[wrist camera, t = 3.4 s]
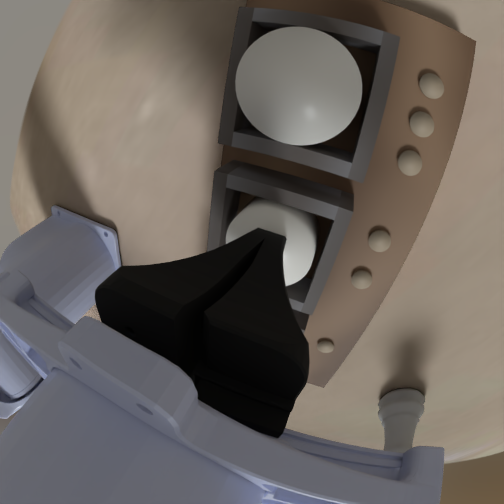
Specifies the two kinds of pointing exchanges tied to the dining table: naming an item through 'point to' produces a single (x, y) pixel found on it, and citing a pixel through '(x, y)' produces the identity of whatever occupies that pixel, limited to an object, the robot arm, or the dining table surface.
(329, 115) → the button
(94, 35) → the dining table surface
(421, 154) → the button panel
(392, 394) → the rook chess piece
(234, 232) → the button
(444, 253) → the dining table surface
